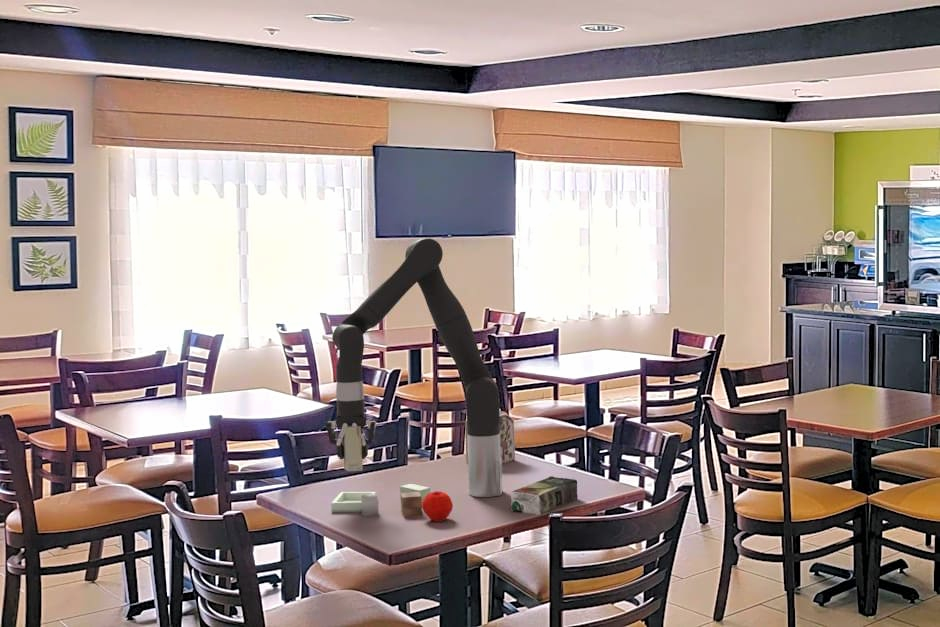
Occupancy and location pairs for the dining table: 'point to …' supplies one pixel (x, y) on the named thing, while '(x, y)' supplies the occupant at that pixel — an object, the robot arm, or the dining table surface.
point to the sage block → (415, 490)
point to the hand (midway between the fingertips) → (352, 458)
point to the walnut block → (411, 503)
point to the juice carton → (544, 495)
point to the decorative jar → (502, 438)
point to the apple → (437, 505)
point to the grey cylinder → (369, 504)
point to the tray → (348, 502)
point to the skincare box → (352, 448)
